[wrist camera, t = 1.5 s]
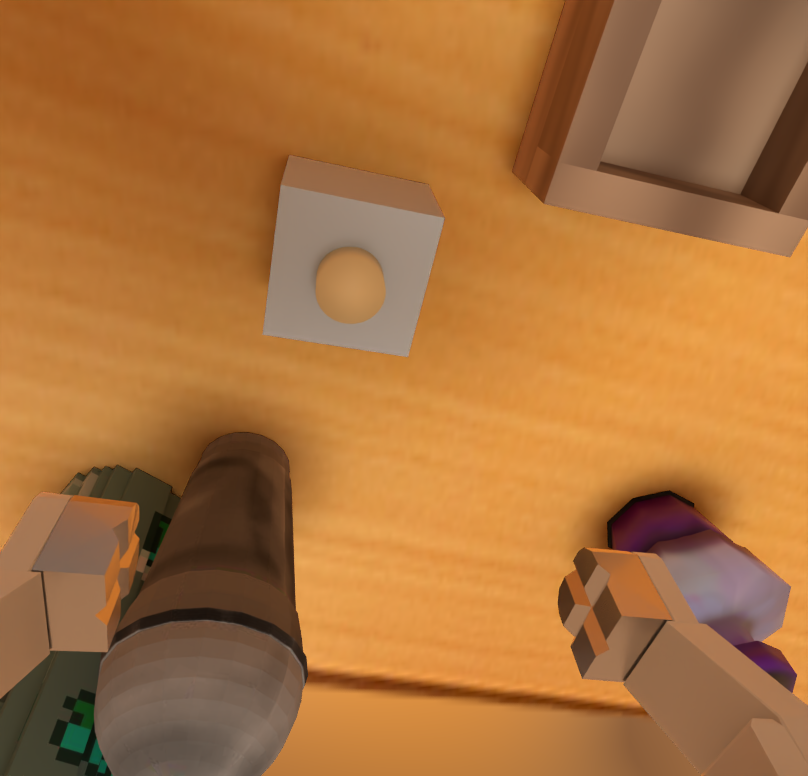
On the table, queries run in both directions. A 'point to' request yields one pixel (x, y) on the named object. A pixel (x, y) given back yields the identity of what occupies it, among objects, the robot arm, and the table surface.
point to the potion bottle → (710, 575)
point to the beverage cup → (211, 629)
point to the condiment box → (677, 118)
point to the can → (78, 653)
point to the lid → (350, 257)
